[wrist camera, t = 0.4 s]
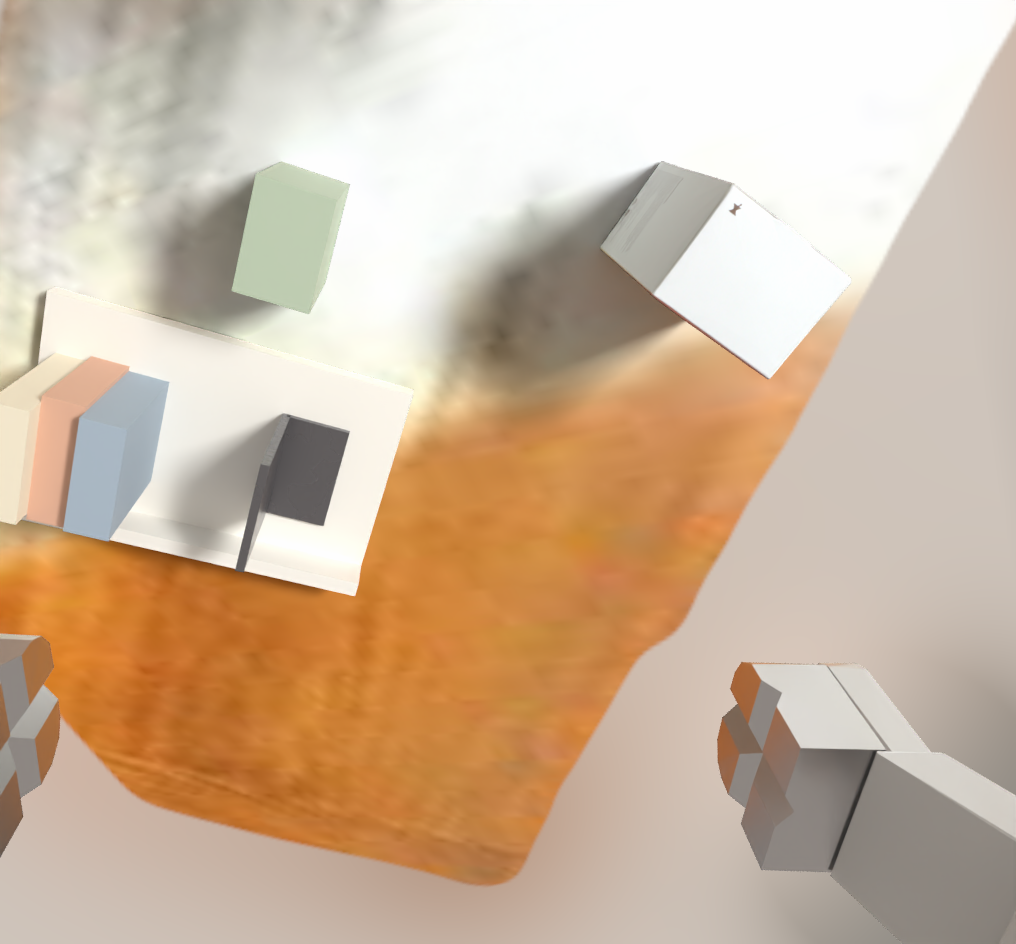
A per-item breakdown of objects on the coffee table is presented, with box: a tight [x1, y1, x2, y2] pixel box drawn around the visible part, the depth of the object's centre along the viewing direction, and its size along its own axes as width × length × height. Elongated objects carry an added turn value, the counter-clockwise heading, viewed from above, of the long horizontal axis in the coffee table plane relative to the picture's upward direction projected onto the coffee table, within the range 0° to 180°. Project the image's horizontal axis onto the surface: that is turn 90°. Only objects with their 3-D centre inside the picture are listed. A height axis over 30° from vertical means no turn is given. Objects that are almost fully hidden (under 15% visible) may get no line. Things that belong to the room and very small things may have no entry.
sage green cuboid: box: [232, 162, 350, 314], centre depth 46 cm, size 6×4×8 cm, turn 161°
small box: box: [600, 161, 851, 379], centre depth 46 cm, size 8×6×13 cm
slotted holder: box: [0, 287, 413, 596], centre depth 50 cm, size 14×22×10 cm, turn 71°
